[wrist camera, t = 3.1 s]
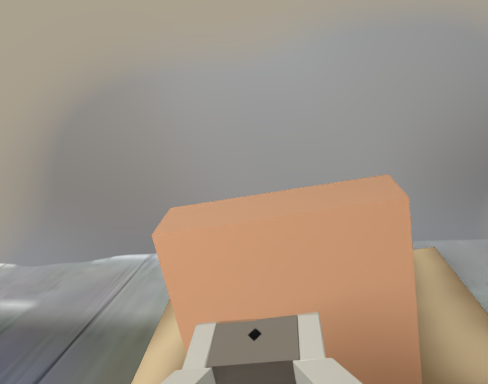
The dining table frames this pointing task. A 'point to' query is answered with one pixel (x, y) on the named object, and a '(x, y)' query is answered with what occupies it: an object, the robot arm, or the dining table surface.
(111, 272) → the dining table surface
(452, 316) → the oak board
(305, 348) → the robot arm
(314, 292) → the terracotta tile
